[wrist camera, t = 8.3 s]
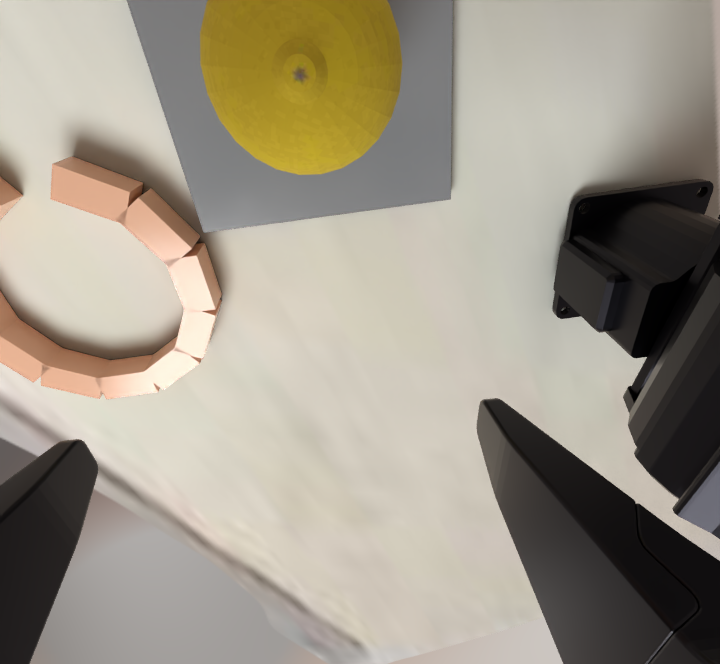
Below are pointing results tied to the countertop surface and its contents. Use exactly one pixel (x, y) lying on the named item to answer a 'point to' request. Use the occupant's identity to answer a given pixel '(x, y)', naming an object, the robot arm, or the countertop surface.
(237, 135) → the lemon
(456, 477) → the countertop surface
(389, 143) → the slate coaster
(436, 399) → the countertop surface
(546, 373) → the countertop surface
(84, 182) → the c ring
